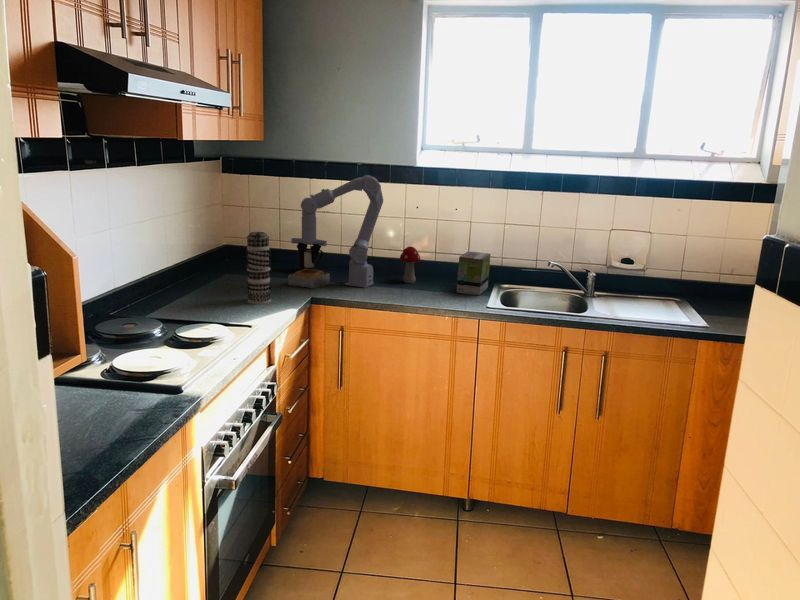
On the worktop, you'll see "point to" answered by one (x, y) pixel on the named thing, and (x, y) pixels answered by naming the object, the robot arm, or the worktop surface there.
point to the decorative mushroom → (409, 263)
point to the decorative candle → (258, 268)
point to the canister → (308, 259)
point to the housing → (308, 278)
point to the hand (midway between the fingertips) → (309, 262)
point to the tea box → (473, 273)
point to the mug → (301, 264)
